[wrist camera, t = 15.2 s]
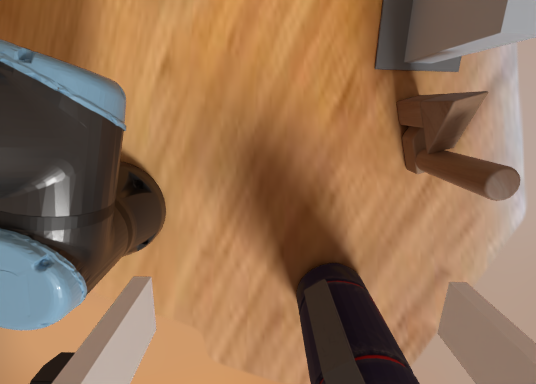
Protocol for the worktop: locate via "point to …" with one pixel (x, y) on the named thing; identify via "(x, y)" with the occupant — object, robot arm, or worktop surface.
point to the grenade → (347, 331)
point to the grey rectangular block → (466, 27)
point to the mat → (402, 41)
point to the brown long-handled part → (450, 144)
